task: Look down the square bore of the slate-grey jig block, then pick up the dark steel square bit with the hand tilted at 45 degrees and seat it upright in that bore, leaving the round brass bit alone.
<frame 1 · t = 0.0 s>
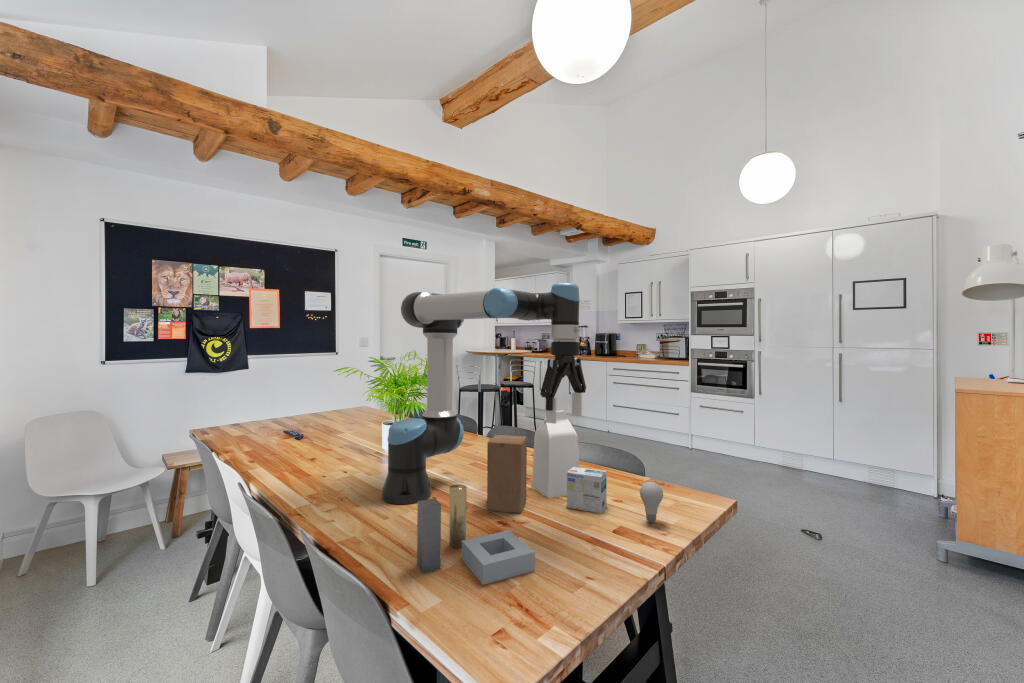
hand: (564, 419, 118), 28 cm above the table, fingers open, 13 cm apart
jig: (497, 564, 96), on the table
lightbulb: (651, 523, 119), on the table
light bulb box: (586, 507, 129), on the table
square bit: (428, 567, 95), on the table
milk: (555, 490, 144), on the table
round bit: (457, 545, 105), on the table
wooden block: (507, 506, 130), on the table
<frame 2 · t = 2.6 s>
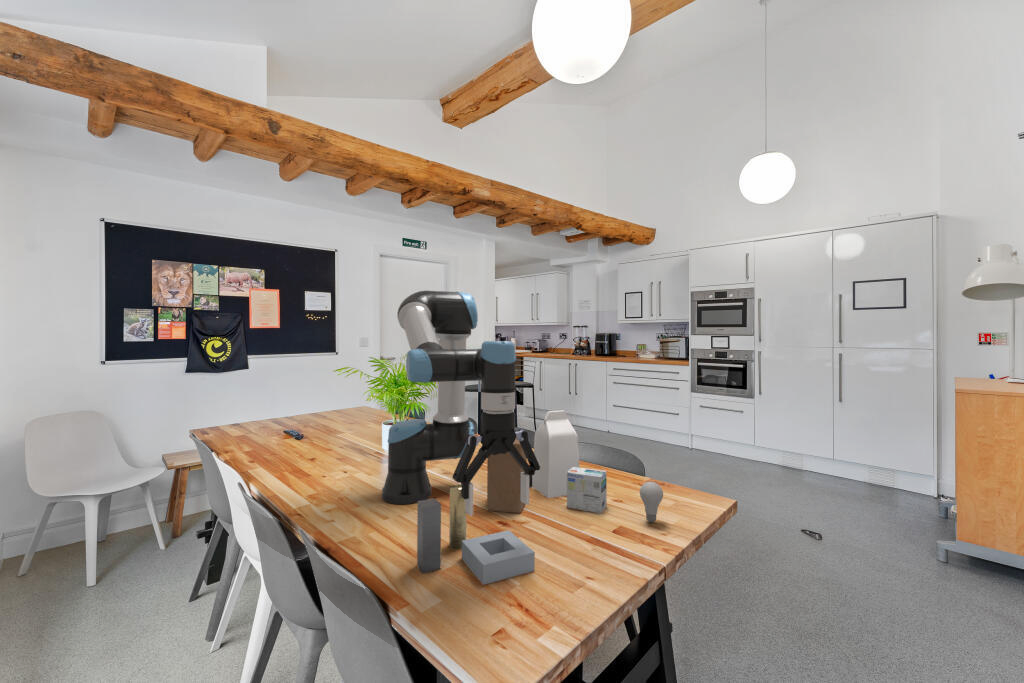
hand: (497, 508, 96), 13 cm above the table, fingers open, 13 cm apart
nothing on the table moved.
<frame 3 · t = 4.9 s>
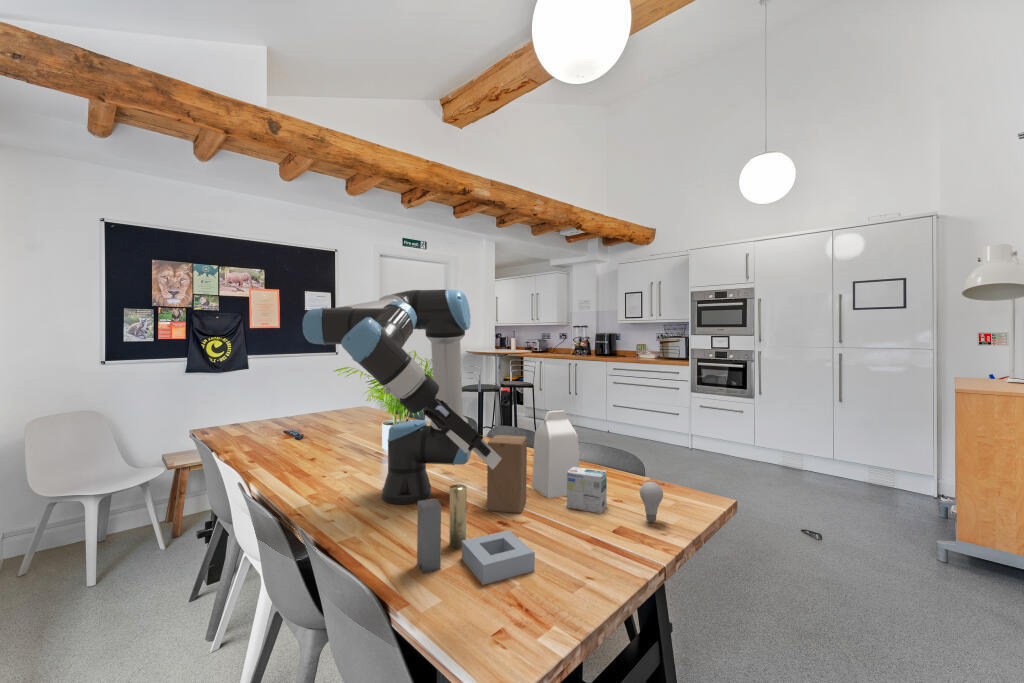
hand: (482, 455, 91), 25 cm above the table, fingers open, 13 cm apart
nothing on the table moved.
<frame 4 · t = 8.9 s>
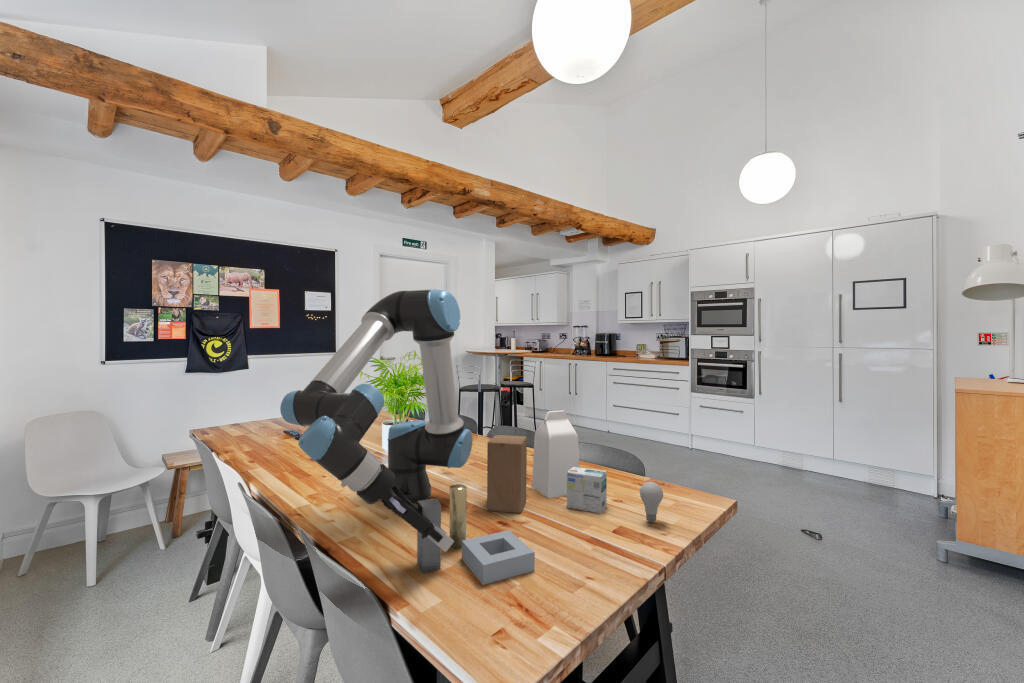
hand: (445, 541, 96), 5 cm above the table, fingers closed on square bit, 4 cm apart
square bit: (428, 566, 95), on the table, touching gripper
everything else where it was.
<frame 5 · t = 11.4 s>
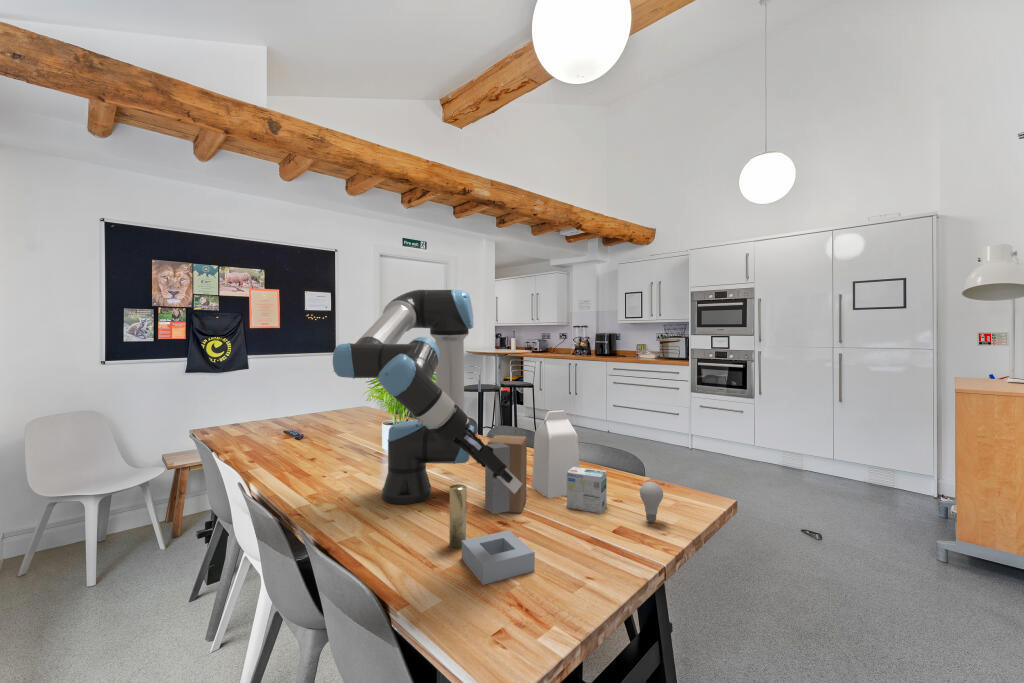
hand: (512, 485, 97), 17 cm above the table, fingers closed on square bit, 4 cm apart
square bit: (497, 509, 96), point 12 cm above the table, touching gripper
everything else where it was.
when the fingers open (6 cm above the table, at t = 14.0 s): square bit drops 1 cm, resting in jig.
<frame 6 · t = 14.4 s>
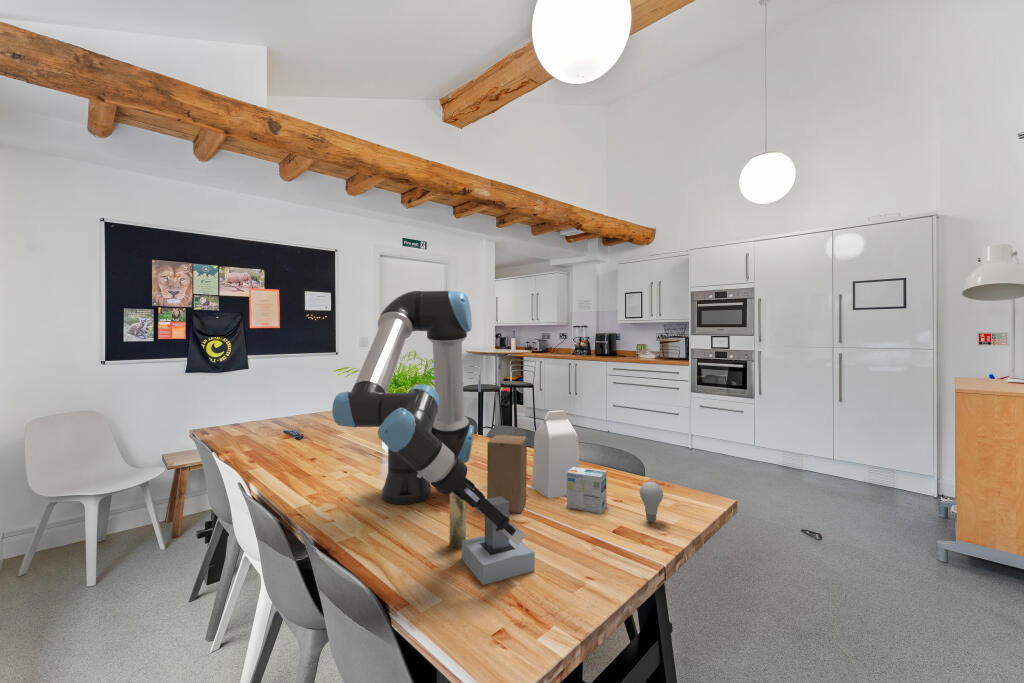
hand: (509, 530, 97), 7 cm above the table, fingers open, 10 cm apart
square bit: (496, 564, 96), resting in jig
everything else where it was.
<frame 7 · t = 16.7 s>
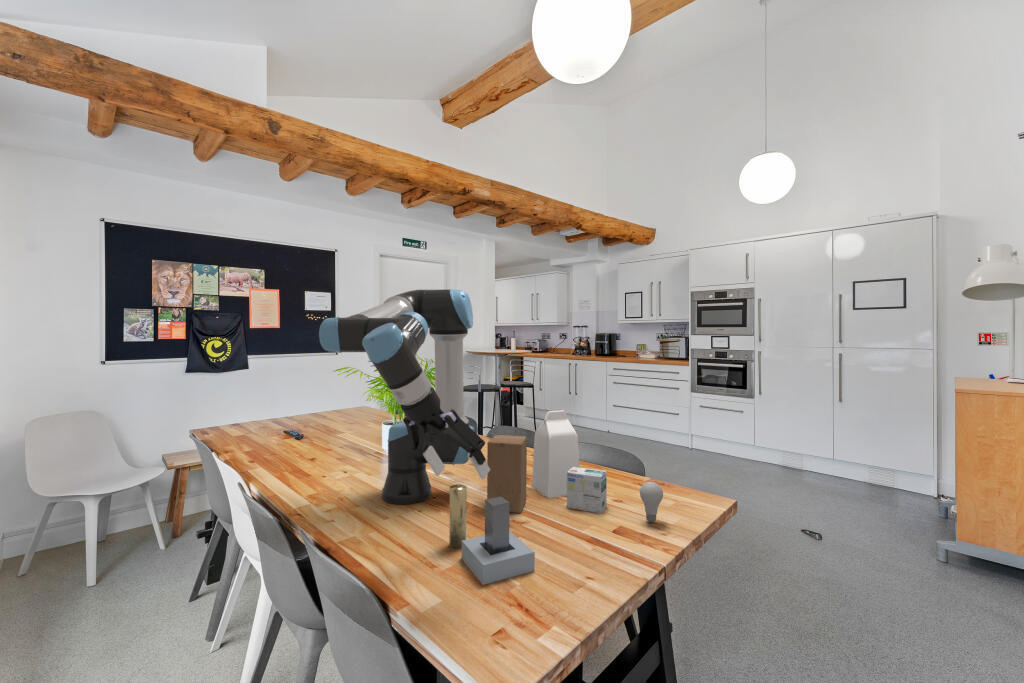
hand: (462, 472, 96), 20 cm above the table, fingers open, 13 cm apart
nothing on the table moved.
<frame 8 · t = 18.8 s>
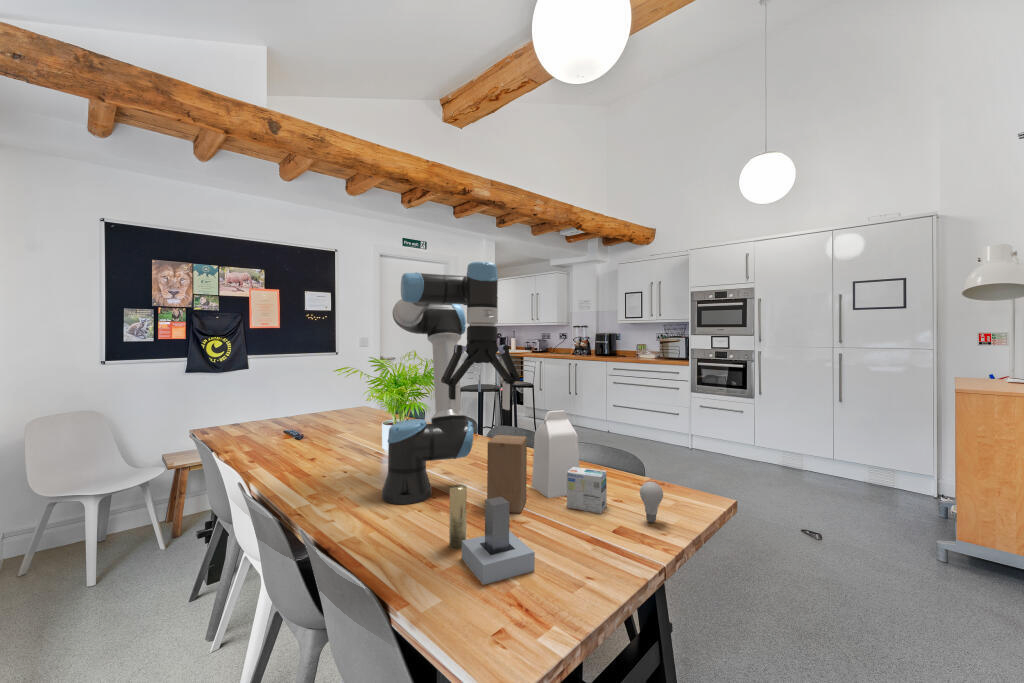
hand: (481, 411, 108), 32 cm above the table, fingers open, 13 cm apart
nothing on the table moved.
at the end: square bit 0.1 cm off-centre on the jig, point 0.0 cm above the jig's base; square bit tilted 0°; the gripper is holding nothing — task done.
